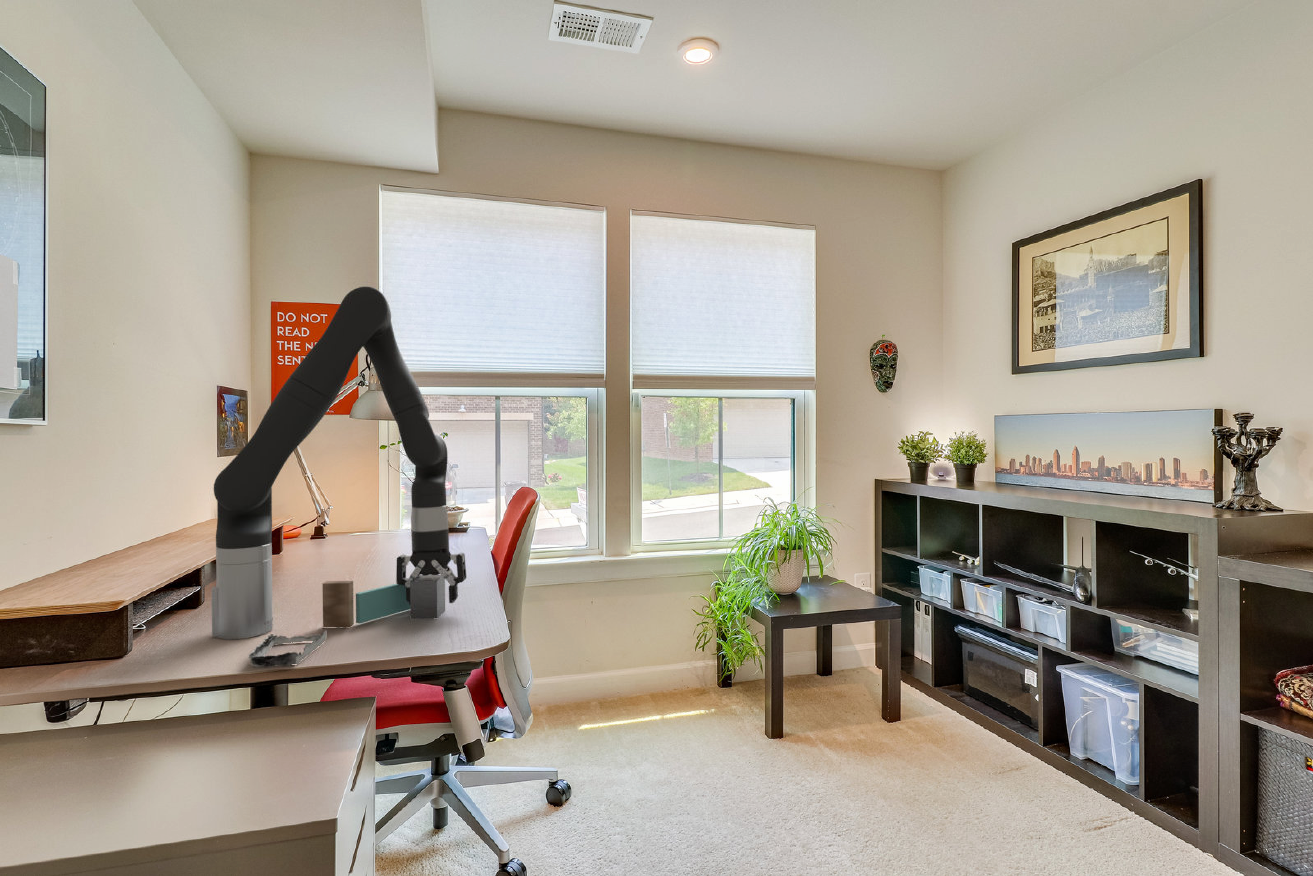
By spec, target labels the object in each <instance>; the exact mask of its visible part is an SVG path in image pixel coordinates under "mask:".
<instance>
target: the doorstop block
mask: <svg viewBox="0 0 1313 876" xmlns="http://www.w3.org/2000/svg"><path fill="white" fill-rule="evenodd" d="M409 611H410V620H435V619H434V618H438V619H439V618H440V617H441V616H442V615H443V614H444V613H445V612H446V579H445V578H443V577H442V575H441V574H438V575H427V576H423V575H422V574H421V575H420V576H419V577H417V578H416V579H413V580H411V581H410V609H409ZM441 614H442V615H441Z"/></svg>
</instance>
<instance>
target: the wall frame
mask: <svg viewBox="0 0 1313 876" xmlns="http://www.w3.org/2000/svg"><path fill="white" fill-rule="evenodd" d="M354 608H355V607H354V580H327V581H325V582H323V583H322V628H323V627H350V628H351V626H352V625H353V624H354V625H355V623H354V622H355V619H354V613H355V610H354ZM354 625H353V626H354ZM353 626H352V627H353Z"/></svg>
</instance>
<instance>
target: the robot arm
mask: <svg viewBox="0 0 1313 876" xmlns="http://www.w3.org/2000/svg"><path fill="white" fill-rule="evenodd" d="M387 299H388V298H386V296H385V294H383V292H381V291H380V290H379V289H377V288H375V287H372V286H359V287H356V288H354V289H352V290H350V291H349V292H348V293H347V294H346V295H345V296H344V298H343V299H342V301H341V302H340V304H339V306H338V308H337V309H336V312H335V314H334V315H333V318H332V319H331V320H330V322H329V325H328V326H327V328H326V329H325V331H324V333H323V334H322V336H321V337H320V338H319V339H318V341H317V342H316V343H315V344H314V345H313V347H312V348H311V349H310V350H309V351H308V353H306V355H305V356H304V358H303V359H302V360H301V362H300V363H299V364H298V365H297V366H296V368H295V369H294V371H293V372H292V373H291V375H289V377H288V378H287V380H286V381H285V383H284V384H283V385H282V387H281V388H280V390H279V391H278V393H277V394H276V396H275V397H274V398H273V400H272V402H271V403H270V405H269V407H268V409H267V410H266V412H265V414H264V416H263V418H262V420H261V421H260V423H259V425H258V427H257V429H256V430H255V432H254V434H253V435H252V437H251V438H250V439H249V440H248V442H247V443H245V446H244V447H243V448H242V449H241V450H240V451H239V452H238V454H237V455H236V456H235V457H234V458H233V459H232V460H231V461H230V463H228V465H227V466H226V467H225V468H223V469H222V470H221V471H220V472H219V474H218V475H217V476H216V478H215V480H214V483H213V496H214V497H215V500H216V504H217V505H216V506H217V507H216V508H217V511H216V512H217V513H216V515H217V516H216V518H217V520H216V521H217V522H216V523H217V524H216V529H215V530H216V532H215V556H216V557H215V558H216V559H215V562H216V564H215V568H216V573H215V574H216V585H215V586H213V587H211V590H210V591H211V593H210V594H211V596H210V597H211V599H210V600H211V637H212V638H219V639H222V640H236V639H238V640H240V639H246V638H252V637H256V636H260V635H264V634H266V633H269V632H270V631H271V632H272V630H273V629H272V628H273V626H274V624H273V621H274V617H273V614H274V613H273V553H272V552H273V551H272V550H273V547H272V544H273V543H272V541H273V540H272V535H273V534H272V532H273V529H272V528H273V501H272V500H273V495H272V494H273V489H272V488H273V485H274V483H275V481H276V480H277V477H278V476H279V474H280V472H281V471H282V469H283V467H284V465H285V464H286V462H287V461H288V459H289V458H290V457H291V455H292V454H293V452H294V451H296V449H297V448H298V447H299V446H300V445H301V444H302V442H304V440H305V439H306V438H307V437H308V436H309V435H310V434H311V433H312V431H313V430H314V429H315V428H316V426H317V425H318V424H319V423H320V422H321V421H322V420H323V418H324V416H325V415H326V414H327V412H328V410H329V409H330V408H331V406H333V403H334V402H335V400H336V399H337V398H338V396H339V394H340V392H341V390H342V387H343V386H344V384H345V382H346V379H347V377H348V375H349V372H350V369H351V367H352V364H353V363H354V360H355V359H356V357H357V355H358V353H359V352H360V351H361V349H362V348H364V350H365V352H366V355H368V358H369V360H370V361H371V363H372V367H373V368H374V370H375V373H376V376H377V378H378V381H379V384H380V387H381V390H382V393H383V395H384V398H385V400H386V402H387V405H388V408H389V410H390V411H391V414H392V416H393V419H394V421H395V422H396V424H397V428H398V432H399V437H400V440H401V444H402V448H403V451H404V452H405V454H406V457H407V458H408V460H409V461H410V462H411V463H412V464H413V465H414V466H415V468H414V470H415V471H414V480H413V482H412V483H411V489H410V490H411V491H410V492H411V493H410V495H411V514H410V526H411V527H410V530H411V533H410V534H411V555H406V554H401V555H399V556H398V557H396V576H395V577H396V578H395V581H396V583H395V584H398V585H400V584H401V585H404V586H405V587H406V600H407V602H409V604H410V581H411V580H413V579H416V578H417V577H419V576H420V575H423V576H427V575H442V577H443V578H445V581H446V582H447V583H448V584H449V586H448V602H449V604H454V603H455V602H456V600H457V599H458V597H459V592H458V590H459V588H458V584H460V583H463V582H464V581H465V580H466V579H467V568H466V567H467V565H466V555H465V553H464V552H459V553H455V554H452V553H451V551H450V536H449V535H450V534H449V531H450V530H449V525H450V524H449V523H450V522H449V513H448V506H447V488H446V479H447V472H448V471H447V468H448V458H449V457H448V448H447V444H446V442H445V440H444V439H443V438H442V437H440V436H439V435H437V434H435V432H434V430H433V428H432V425H431V422H430V420H429V418H430V412H429V408H428V407H427V404H426V402H425V400H424V397H423V395H422V393H421V390H420V388H419V385H418V384H417V382H416V380H415V378H414V376H413V374H412V372H411V370H410V369H409V367H408V365H407V363H406V362H405V360H404V358H403V355H402V352H400V349H399V346H398V343H397V339H396V336H395V332H394V327H393V324H392V312H391V307H390V304H389V301H388V300H387ZM451 561H453V564H454V565H456V572H457V573H456V575H457V576H456V575H455V573H454V572H453V570H452V568H451V567H450V566H449V564H450V562H451ZM410 563H411V564H412V566H413V567H414V569H413V570H412V572H411V574H410V576H409V577H408V578H407V566H408V565H409V564H410Z"/></svg>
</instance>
